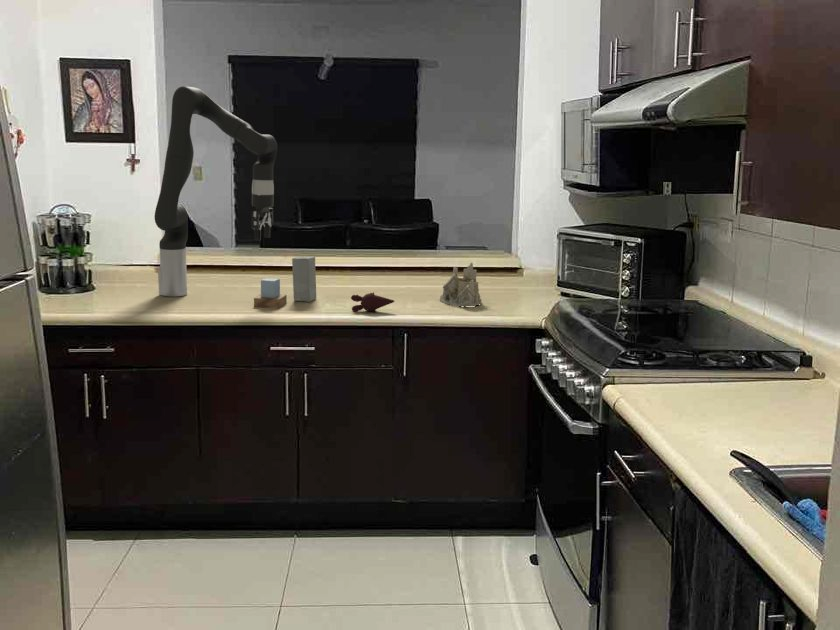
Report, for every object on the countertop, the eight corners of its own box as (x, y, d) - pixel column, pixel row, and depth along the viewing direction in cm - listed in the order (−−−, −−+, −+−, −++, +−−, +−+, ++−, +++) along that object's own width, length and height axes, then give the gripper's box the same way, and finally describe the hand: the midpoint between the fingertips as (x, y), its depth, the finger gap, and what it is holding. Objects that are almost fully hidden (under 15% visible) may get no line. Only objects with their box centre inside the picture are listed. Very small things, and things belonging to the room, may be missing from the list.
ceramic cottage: (443, 296, 330) (446, 258, 326) (486, 302, 325) (488, 263, 321) (432, 307, 315) (434, 266, 311) (476, 312, 311) (478, 272, 307)
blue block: (260, 297, 305) (260, 280, 304) (266, 294, 310) (266, 277, 308) (274, 298, 304) (274, 281, 302) (279, 295, 308) (279, 278, 307)
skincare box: (310, 302, 313) (310, 259, 310) (291, 301, 315) (290, 257, 311) (317, 298, 321) (317, 255, 318) (299, 297, 323) (298, 254, 319)
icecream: (394, 291, 304) (352, 294, 304) (393, 290, 296) (349, 292, 297) (395, 311, 304) (353, 313, 304) (394, 310, 296) (350, 312, 297)
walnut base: (254, 307, 304) (253, 298, 303) (262, 303, 312) (262, 293, 311) (279, 309, 302) (278, 299, 302) (286, 304, 311) (286, 294, 310)
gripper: (260, 190, 310) (260, 236, 314) (244, 193, 296) (244, 240, 300) (280, 192, 309) (279, 237, 312) (265, 195, 295) (264, 242, 298)
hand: (262, 239), depth 306 cm, fingers open, 8 cm apart
